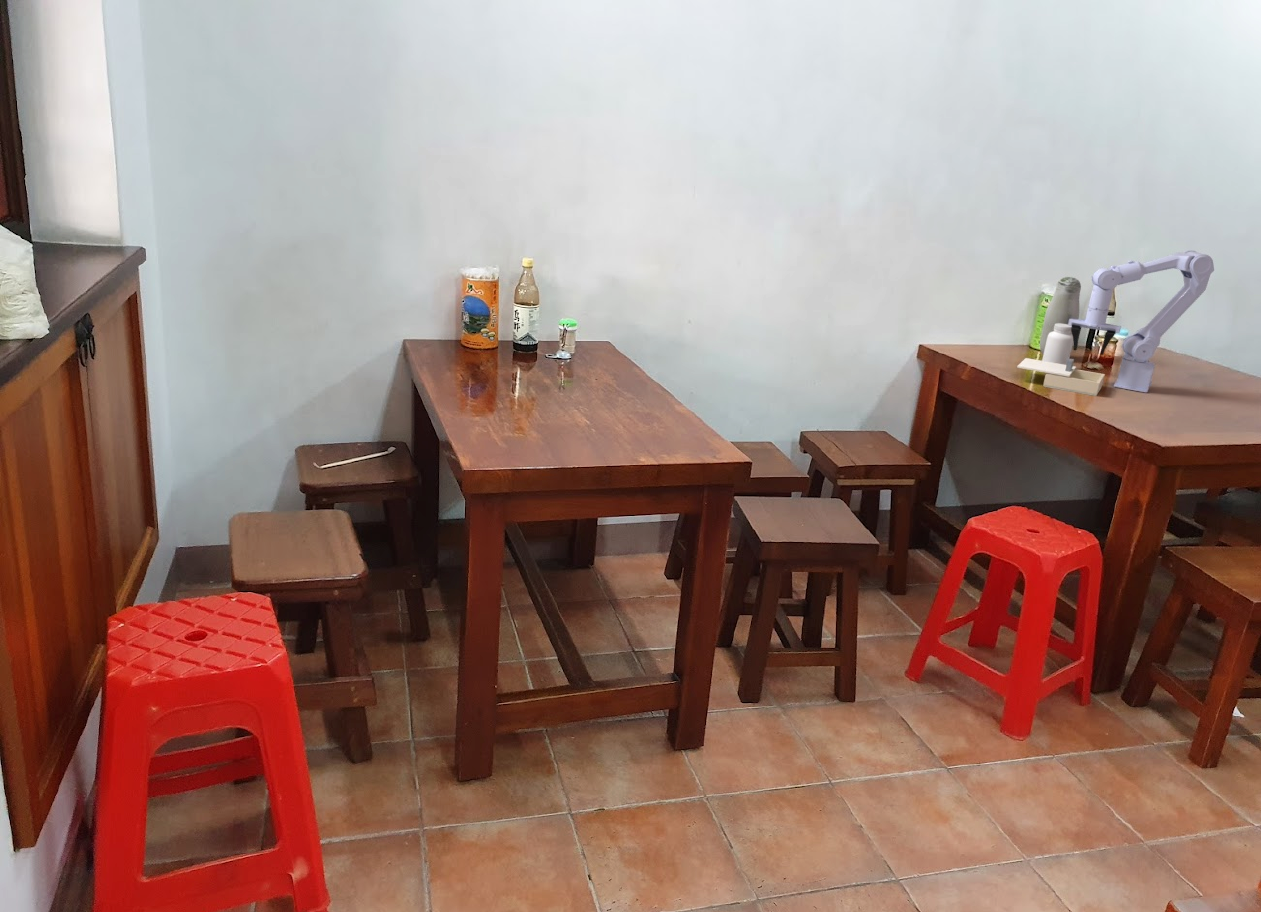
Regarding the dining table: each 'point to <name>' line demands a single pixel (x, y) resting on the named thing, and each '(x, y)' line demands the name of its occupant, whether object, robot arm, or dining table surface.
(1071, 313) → the gray tapered bottle
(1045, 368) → the lid
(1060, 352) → the pill bottle
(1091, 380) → the beige open box
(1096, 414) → the dining table surface
